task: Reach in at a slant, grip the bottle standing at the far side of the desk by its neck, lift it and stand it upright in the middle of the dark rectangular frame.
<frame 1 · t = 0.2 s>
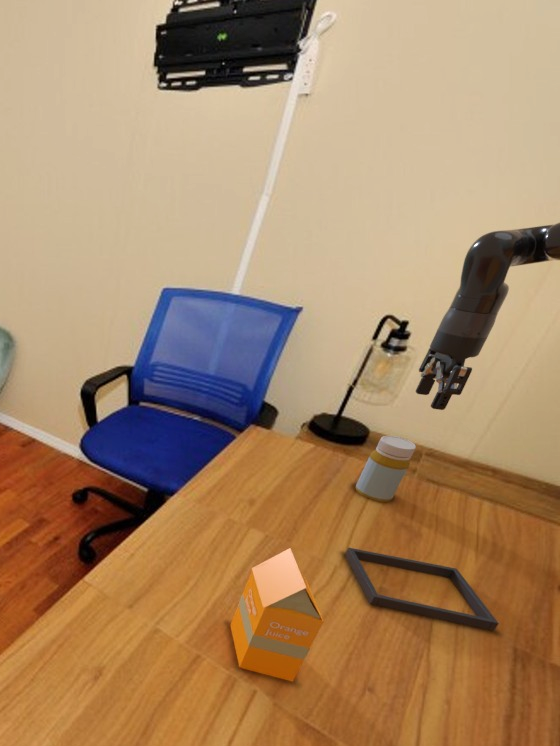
hand: (428, 401, 112), 25 cm above the table, tool pointing down, fingers open, 8 cm apart
dark rectangular frame: (410, 591, 96), on the table
bottle: (372, 495, 123), on the table
orange juice: (258, 655, 85), on the table
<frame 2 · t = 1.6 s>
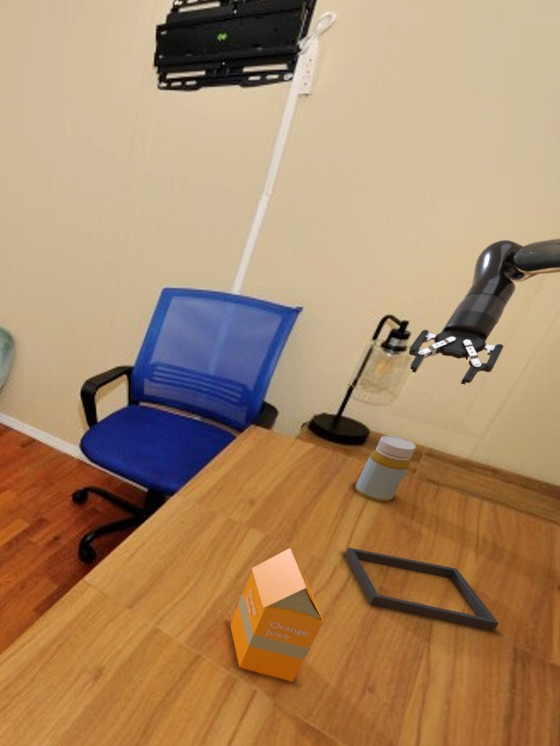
hand: (438, 376, 116), 28 cm above the table, tool tilted 45°, fingers open, 8 cm apart
nothing on the table moved.
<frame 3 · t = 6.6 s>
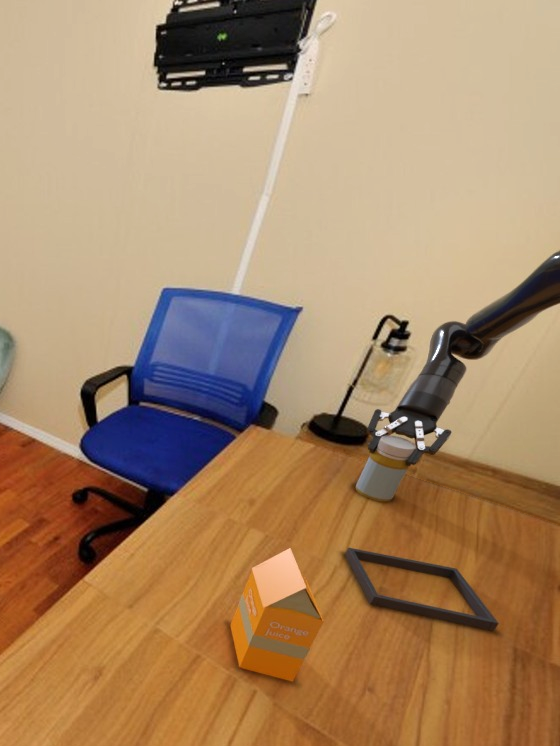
hand: (389, 458, 117), 11 cm above the table, tool tilted 45°, fingers closed on bottle, 6 cm apart
bottle: (372, 495, 123), on the table, touching gripper
everything else where it was.
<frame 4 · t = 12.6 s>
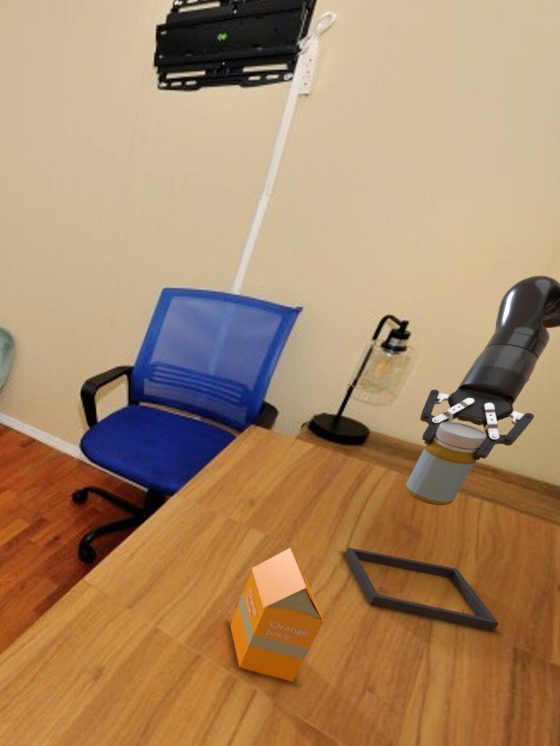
hand: (451, 450, 93), 26 cm above the table, tool tilted 45°, fingers closed on bottle, 6 cm apart
bottle: (426, 496, 99), point 14 cm above the table, touching gripper
everything else where it was.
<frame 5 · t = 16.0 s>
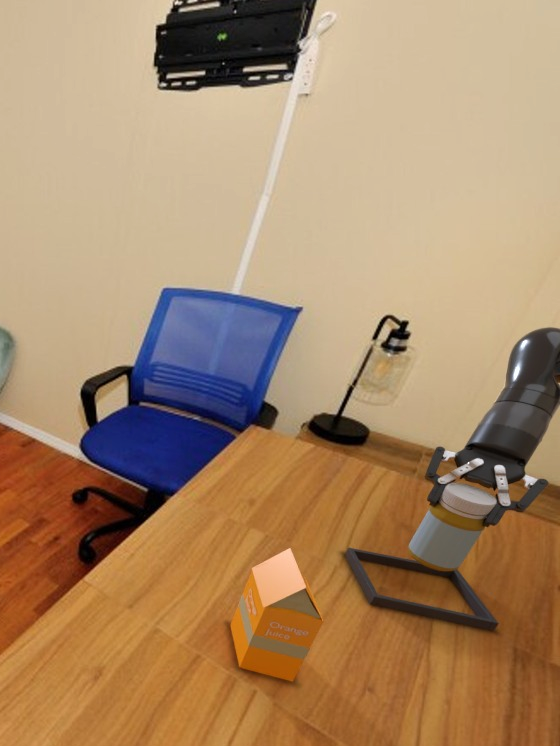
hand: (458, 514, 86), 20 cm above the table, tool tilted 45°, fingers closed on bottle, 6 cm apart
bottle: (430, 560, 93), point 8 cm above the table, touching gripper
everything else where it was.
when the fingers open (12 cm above the table, at t = 18.7 s): bottle stays where it is, resting on dark rectangular frame.
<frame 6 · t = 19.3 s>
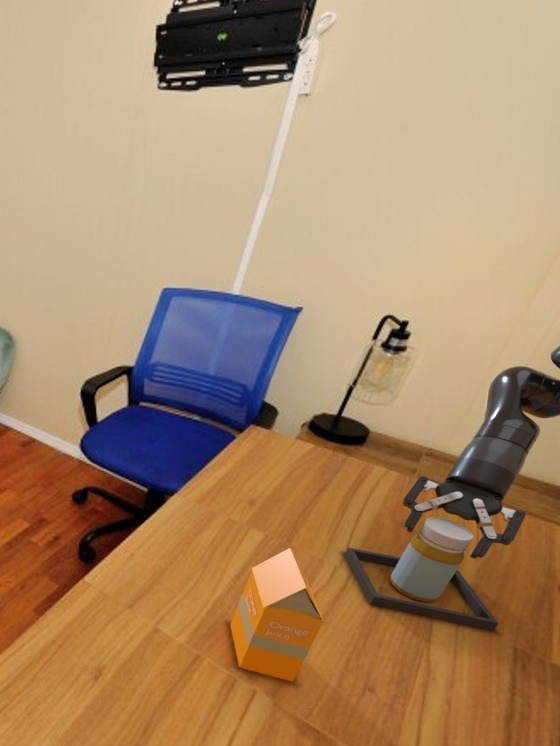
hand: (440, 543, 90), 13 cm above the table, tool tilted 45°, fingers open, 8 cm apart
bottle: (411, 590, 96), resting on dark rectangular frame
everything else where it was.
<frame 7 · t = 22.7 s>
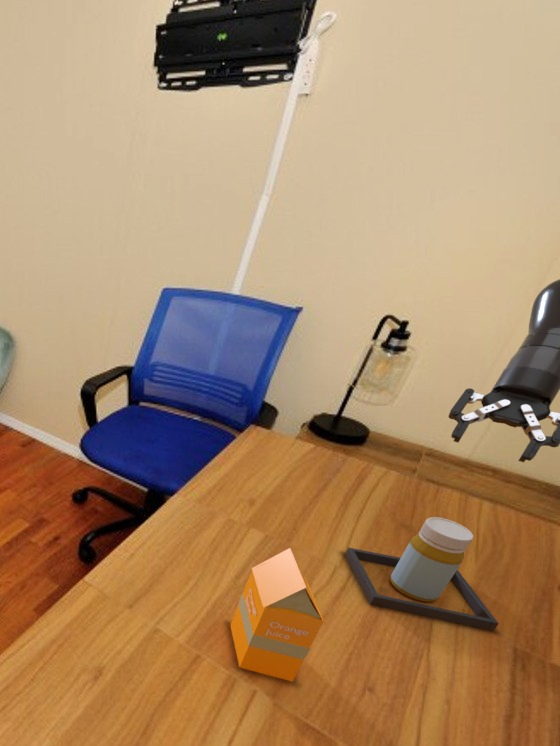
hand: (488, 450, 92), 26 cm above the table, tool tilted 45°, fingers open, 8 cm apart
nothing on the table moved.
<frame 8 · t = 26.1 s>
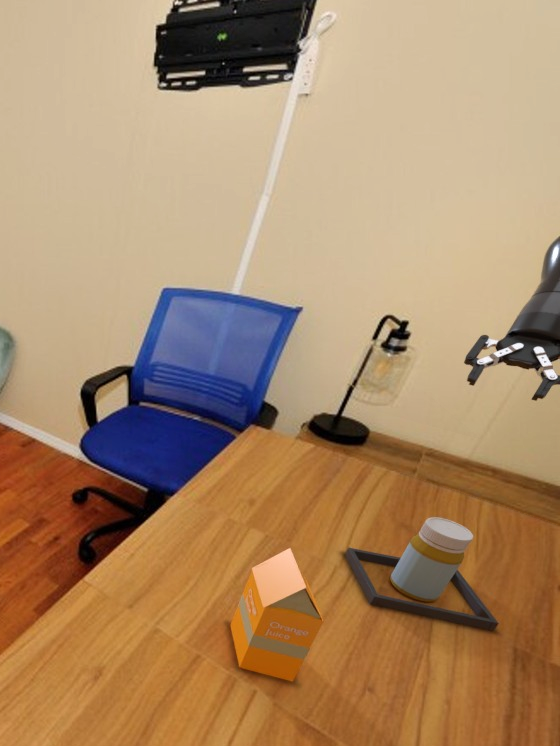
hand: (502, 390, 97), 34 cm above the table, tool tilted 45°, fingers open, 8 cm apart
nothing on the table moved.
at the end: bottle inside the target area in the dark rectangular frame (0.1 cm from its centre), point 0.4 cm above the dark rectangular frame's base; bottle tilted 0°; the gripper is holding nothing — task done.
